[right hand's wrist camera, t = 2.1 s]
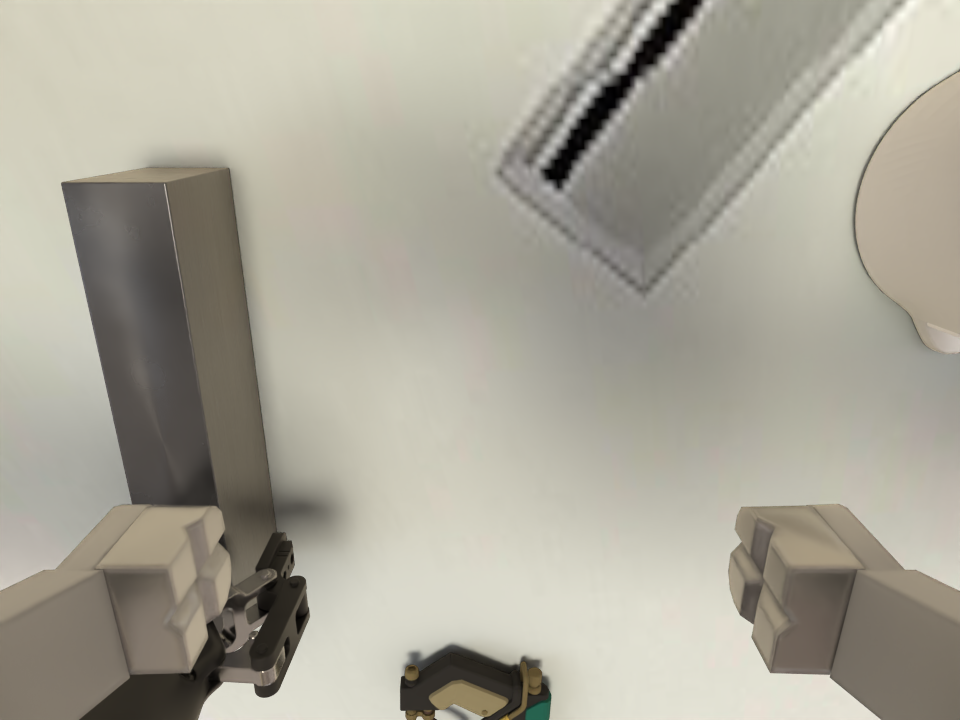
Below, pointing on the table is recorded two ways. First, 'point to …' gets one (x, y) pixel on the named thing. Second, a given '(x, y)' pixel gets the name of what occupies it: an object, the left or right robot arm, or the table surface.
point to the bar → (177, 345)
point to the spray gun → (474, 690)
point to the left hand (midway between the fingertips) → (214, 543)
